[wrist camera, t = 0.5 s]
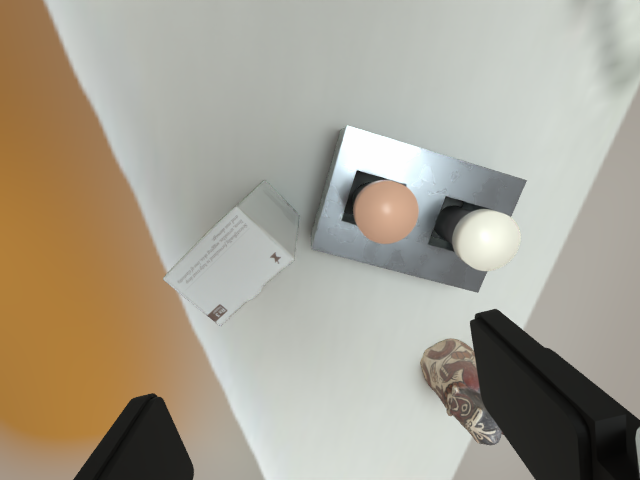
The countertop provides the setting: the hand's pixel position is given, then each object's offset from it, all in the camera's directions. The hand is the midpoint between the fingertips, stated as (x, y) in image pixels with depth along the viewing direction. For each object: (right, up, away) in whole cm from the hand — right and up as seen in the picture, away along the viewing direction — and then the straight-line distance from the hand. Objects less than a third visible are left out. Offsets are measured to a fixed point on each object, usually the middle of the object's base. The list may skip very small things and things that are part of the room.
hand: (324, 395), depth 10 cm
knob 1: (+5, +9, +24) cm, 26 cm away
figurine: (+17, -12, +34) cm, 40 cm away
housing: (+9, +8, +28) cm, 31 cm away
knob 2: (+14, +6, +25) cm, 29 cm away
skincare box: (-7, +6, +28) cm, 30 cm away
